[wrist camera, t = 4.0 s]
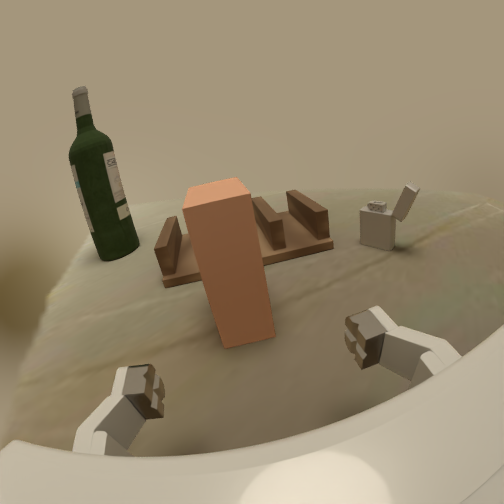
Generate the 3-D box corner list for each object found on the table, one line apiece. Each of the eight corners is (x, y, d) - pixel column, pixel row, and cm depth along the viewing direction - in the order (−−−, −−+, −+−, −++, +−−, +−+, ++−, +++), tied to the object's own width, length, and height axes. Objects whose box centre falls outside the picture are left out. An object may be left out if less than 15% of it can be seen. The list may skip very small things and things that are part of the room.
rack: (296, 215, 44) (293, 188, 42) (333, 248, 31) (331, 212, 29) (175, 242, 42) (167, 216, 40) (165, 288, 30) (152, 252, 28)
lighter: (359, 243, 31) (357, 178, 28) (365, 238, 32) (363, 175, 29) (413, 257, 26) (416, 185, 23) (417, 250, 27) (420, 182, 23)
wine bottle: (146, 245, 44) (106, 75, 31) (106, 265, 39) (60, 87, 26) (131, 238, 49) (95, 91, 36) (96, 255, 44) (56, 102, 32)
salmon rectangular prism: (258, 289, 26) (236, 176, 22) (275, 336, 20) (250, 193, 15) (218, 299, 26) (188, 187, 21) (224, 348, 20) (182, 208, 15)
